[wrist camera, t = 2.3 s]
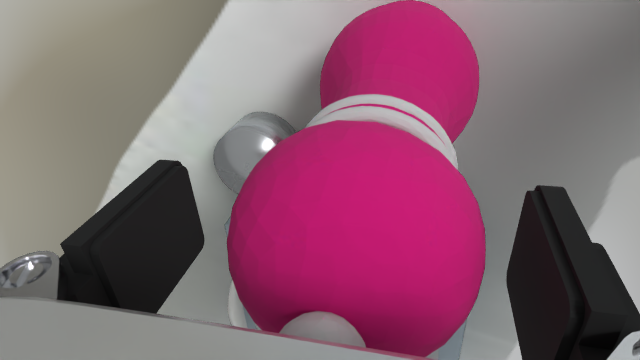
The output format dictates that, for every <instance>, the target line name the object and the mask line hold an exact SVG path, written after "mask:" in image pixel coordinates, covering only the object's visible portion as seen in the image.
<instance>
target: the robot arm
mask: <svg viewBox="0 0 640 360" xmlns="http://www.w3.org/2000/svg"><path fill="white" fill-rule="evenodd" d="M60 245H61V247H62V249H63V251H64V253H65V254H63V255H62V256H61V257H60V258H59V257H58V255H56V254H55V253H54V252H49V251H38V252H33V253H29V254H26V255H23V256H20V257H18V258H16V259H14V260H12V261H10V262H9V263H7V264H6V265H4V266H3V267H2V268H0V360H436V359H431V358H425V357H419V356H413V355H407V354H401V353H395V352H389V351H383V350H377V349H371V348H365V347H359V346H353V345H347V344H341V343H335V342H329V341H323V340H317V339H311V338H305V337H299V336H292V335H286V334H280V333H274V332H268V331H262V330H255V329H249V328H243V327H237V326H230V325H224V324H218V323H212V322H205V321H199V320H192V319H186V318H180V317H173V316H167V315H160V314H156V313H157V312H158V310H159V309H160V307H161V306H162V305H163V303H164V302H165V300H166V299H167V298H168V296H169V295H170V293H171V292H172V291H173V289H174V288H175V286H176V285H177V284H178V282H179V281H180V279H181V278H182V277H183V275H184V274H185V272H186V271H187V270H188V268H189V267H190V265H191V264H192V263H193V261H194V260H195V258H196V257H197V256H198V254H199V253H200V251H201V250H202V248H203V246H204V234H203V230H202V226H201V222H200V218H199V214H198V210H197V206H196V202H195V198H194V194H193V190H192V186H191V182H190V178H189V174H188V171H187V168H186V167H184V166H182V164H181V162H179V161H171V160H159V161H157V162H156V163H155V164H153V165H152V166H151V167H150V168H149V169H147V170H146V171H145V172H144V173H143V174H142V175H140V176H139V177H138V178H137V179H136V180H135V181H133V182H132V183H131V184H130V185H129V186H128V187H126V188H125V189H124V190H123V191H122V192H120V193H119V194H118V195H117V196H116V197H115V198H113V199H112V200H111V201H110V202H109V203H108V204H106V205H105V206H104V207H103V208H102V209H101V210H99V211H98V212H97V213H96V214H95V215H94V216H92V217H91V218H90V219H89V220H88V221H86V222H85V223H84V224H83V225H82V226H81V227H79V228H78V229H77V230H76V231H75V232H74V233H72V234H71V235H70V236H69V237H68V238H67V239H65V240H64V241H63V242H62V243H61V244H60ZM507 288H508V293H509V298H510V302H511V307H512V312H513V317H514V322H515V326H516V331H517V336H518V341H519V346H520V350H521V355H522V360H640V314H639V312H638V310H637V308H636V306H635V304H634V302H633V300H632V299H631V297H630V295H629V293H628V291H627V289H626V288H625V286H624V284H623V282H622V280H621V278H620V276H619V274H618V273H617V271H616V269H615V267H614V265H613V263H612V261H611V259H610V258H609V256H608V254H607V252H606V250H605V249H604V247H603V246H602V245H601V244H598V243H592V242H591V240H590V238H589V236H588V234H587V232H586V230H585V228H584V226H583V224H582V222H581V220H580V218H579V216H578V214H577V212H576V210H575V208H574V206H573V204H572V202H571V200H570V198H569V196H568V194H567V192H566V190H565V189H564V187H555V186H540V185H538V186H536V188H535V190H534V191H527V192H526V195H525V199H524V203H523V207H522V211H521V216H520V220H519V224H518V228H517V232H516V236H515V241H514V245H513V249H512V253H511V257H510V261H509V266H508V270H507Z"/></svg>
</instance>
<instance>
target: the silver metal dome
mask: <svg viewBox="0 0 640 360" xmlns="http://www.w3.org/2000/svg"><path fill="white" fill-rule="evenodd" d="M295 133H296V132H295V130H294V129H293V128H292V127H291V125H290V124H289V123H287V122H286V121H285V120H283V119H282V118H280V117H278V116H276V115H274V114H271V113H267V112H254V113H250V114H248V115H246V116H244V117H243V118H241V119H240V120H239V121H238V122H237V123H236V124H235V125H234V126H233V127H232V128H231V129H230V130H229V131H228V132H227V133H226V134H225V135H224V136H223V137H222V138H221V139H220V140H219V141H218V143H217V145H216V147H215V150H214V165H215V168H216V171H217V173H218V175H219V177H220V178H221V180H222V181H223V182H224V183H225V184H226V185H227V186H228V187H229V188H230V189H231V190H232V191H234V192H235V193H237V194H239V192H240V190H241V188H242V186H243V184H244V182H245V180H246V179H247V177H248V176H249V174H250V172H251V171H252V169H253V168H254V167H255V165H256V164H257V163H258V162H259V161H260V160H261V159H262V158H263V157H264V156H265V155H266V154H267V153H268V152H269V151H270V150H271V149H272V148H273V147H274V146H276V145H277V144H278V143H279V142H280V141H282V140H284V139H285V138H287V137H289V136H291V135H293V134H295Z"/></svg>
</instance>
